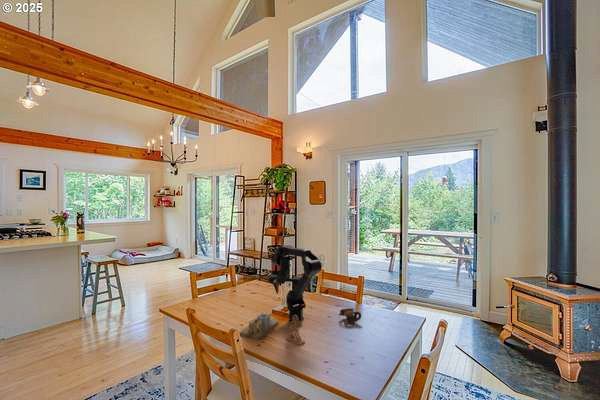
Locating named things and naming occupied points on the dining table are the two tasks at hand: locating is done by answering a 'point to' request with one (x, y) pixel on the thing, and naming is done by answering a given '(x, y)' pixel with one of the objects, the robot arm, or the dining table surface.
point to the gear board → (259, 334)
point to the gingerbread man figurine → (292, 338)
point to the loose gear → (264, 318)
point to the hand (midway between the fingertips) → (285, 294)
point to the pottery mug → (350, 316)
